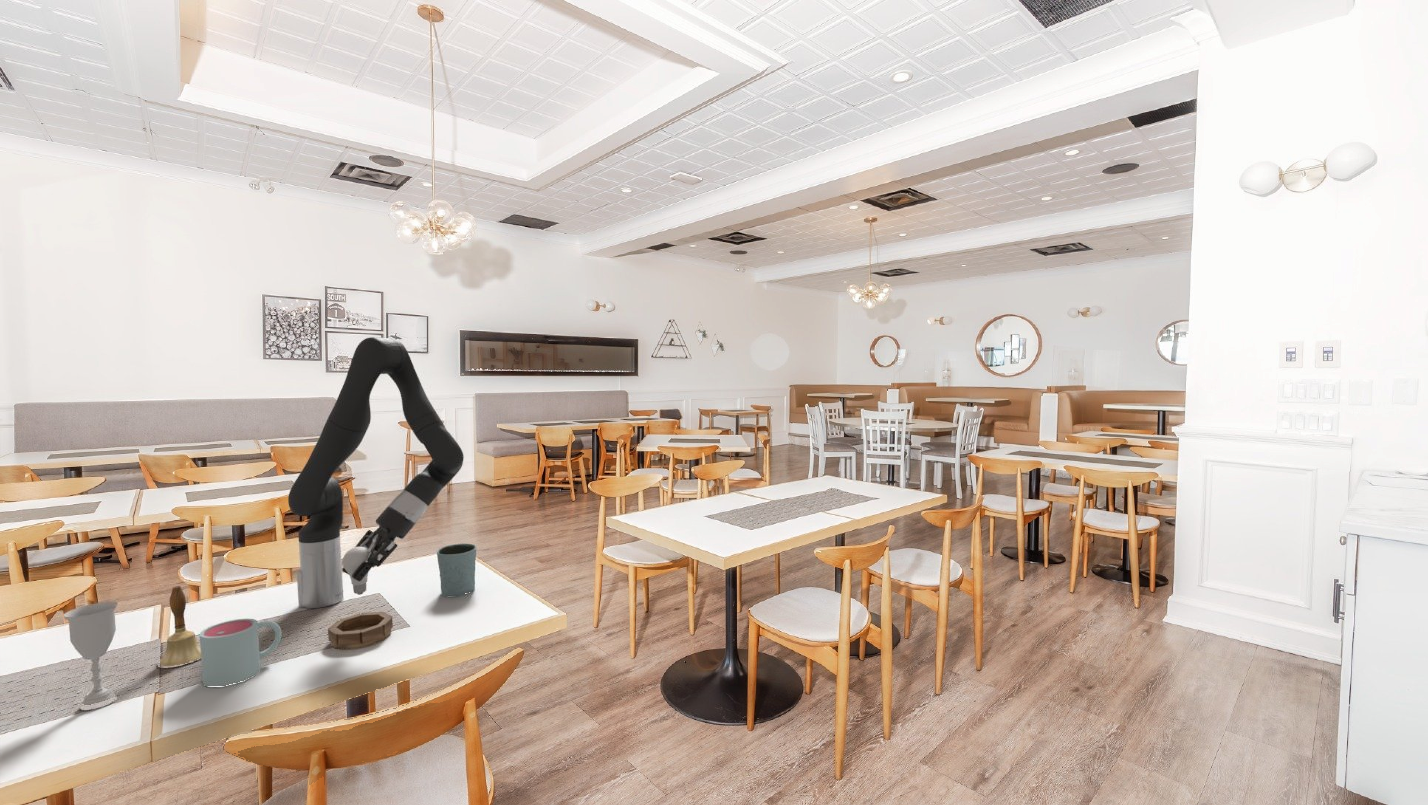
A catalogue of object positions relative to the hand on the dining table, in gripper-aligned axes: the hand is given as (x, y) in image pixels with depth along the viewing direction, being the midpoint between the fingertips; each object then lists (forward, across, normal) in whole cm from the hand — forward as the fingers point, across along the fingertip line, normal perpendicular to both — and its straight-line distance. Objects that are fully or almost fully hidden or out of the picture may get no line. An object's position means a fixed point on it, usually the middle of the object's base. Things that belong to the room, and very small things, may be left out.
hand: (350, 575), depth 139 cm
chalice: (+39, -7, -19) cm, 44 cm away
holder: (+9, 0, +12) cm, 15 cm away
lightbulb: (+2, 0, +5) cm, 5 cm away
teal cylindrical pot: (-10, -12, +32) cm, 35 cm away
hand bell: (+30, -18, -9) cm, 36 cm away
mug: (+25, -1, -4) cm, 25 cm away
